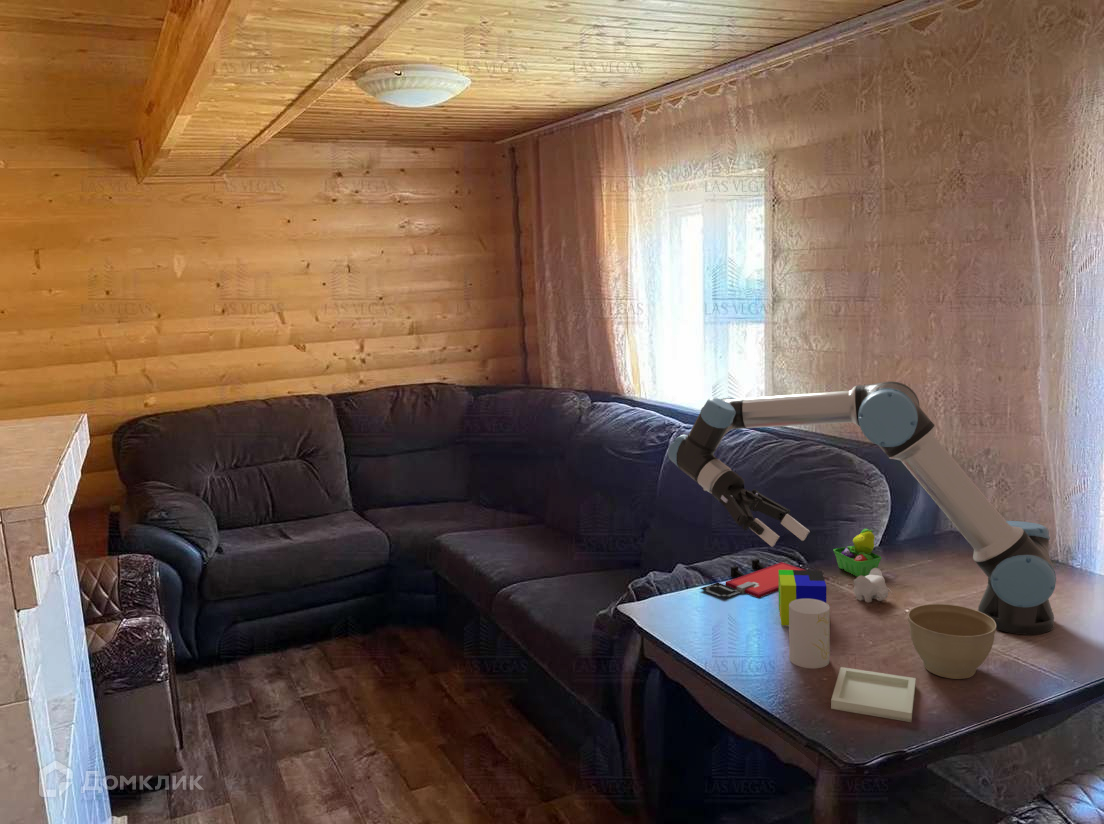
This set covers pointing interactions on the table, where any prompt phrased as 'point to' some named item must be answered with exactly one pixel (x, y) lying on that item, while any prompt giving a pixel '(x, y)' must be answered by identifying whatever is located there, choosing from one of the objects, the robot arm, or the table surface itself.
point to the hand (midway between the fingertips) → (791, 538)
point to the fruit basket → (858, 555)
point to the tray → (874, 694)
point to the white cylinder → (809, 633)
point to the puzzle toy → (799, 589)
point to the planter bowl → (951, 638)
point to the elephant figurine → (871, 586)
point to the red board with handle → (751, 581)
